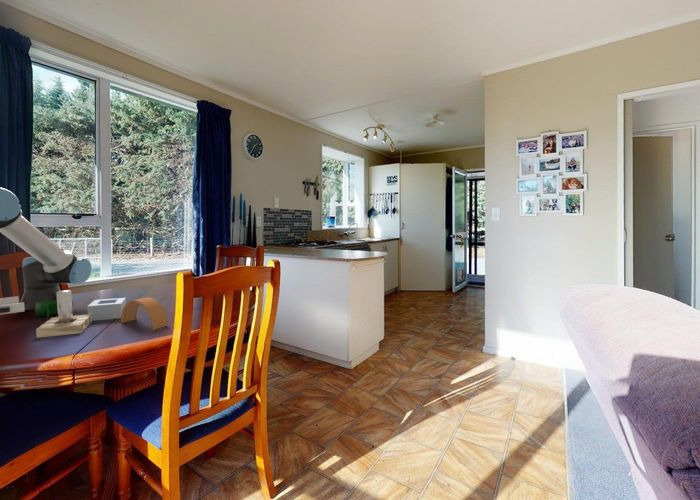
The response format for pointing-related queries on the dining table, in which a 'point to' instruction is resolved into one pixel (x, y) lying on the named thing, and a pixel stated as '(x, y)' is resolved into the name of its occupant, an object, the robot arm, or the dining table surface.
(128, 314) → the arch
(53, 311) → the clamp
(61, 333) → the birch block
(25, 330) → the dining table surface
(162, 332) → the dining table surface
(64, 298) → the steel axle
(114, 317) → the slate holder block
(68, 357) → the dining table surface
